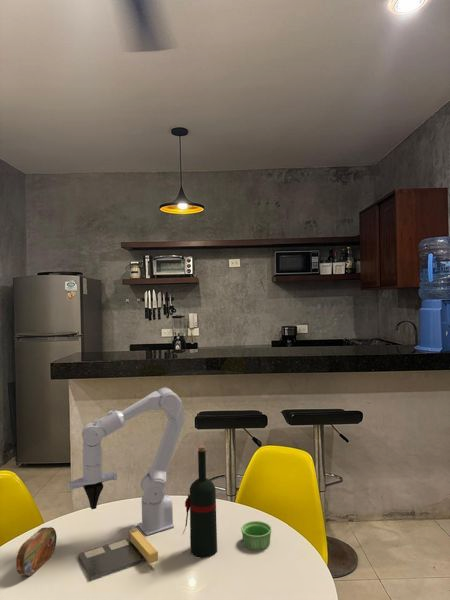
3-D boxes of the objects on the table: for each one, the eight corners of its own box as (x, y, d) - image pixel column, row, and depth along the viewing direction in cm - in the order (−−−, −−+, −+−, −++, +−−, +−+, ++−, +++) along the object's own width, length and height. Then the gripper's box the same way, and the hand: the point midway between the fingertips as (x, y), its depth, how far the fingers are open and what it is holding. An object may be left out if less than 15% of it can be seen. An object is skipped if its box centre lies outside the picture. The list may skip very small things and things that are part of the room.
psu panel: (135, 538, 134) (135, 534, 134) (151, 559, 123) (151, 554, 123) (78, 556, 125) (78, 551, 125) (90, 580, 114) (90, 575, 114)
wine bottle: (185, 542, 132) (183, 442, 132) (219, 543, 131) (216, 442, 131) (179, 557, 124) (177, 450, 124) (215, 558, 123) (213, 451, 123)
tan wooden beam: (127, 537, 132) (126, 529, 132) (135, 534, 133) (135, 526, 133) (149, 563, 118) (149, 555, 118) (158, 560, 120) (158, 551, 120)
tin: (24, 582, 114) (24, 550, 114) (13, 581, 115) (13, 549, 115) (57, 550, 129) (57, 521, 129) (48, 549, 129) (47, 521, 129)
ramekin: (244, 533, 136) (243, 519, 136) (273, 536, 134) (272, 522, 134) (239, 550, 127) (238, 534, 127) (270, 552, 126) (269, 537, 126)
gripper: (111, 455, 142) (112, 497, 142) (65, 464, 135) (65, 509, 135) (118, 461, 136) (119, 505, 136) (70, 471, 129) (71, 518, 129)
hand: (93, 507), depth 135 cm, fingers closed
